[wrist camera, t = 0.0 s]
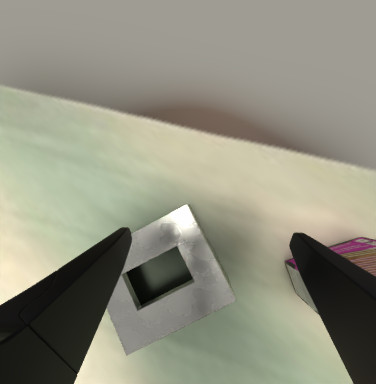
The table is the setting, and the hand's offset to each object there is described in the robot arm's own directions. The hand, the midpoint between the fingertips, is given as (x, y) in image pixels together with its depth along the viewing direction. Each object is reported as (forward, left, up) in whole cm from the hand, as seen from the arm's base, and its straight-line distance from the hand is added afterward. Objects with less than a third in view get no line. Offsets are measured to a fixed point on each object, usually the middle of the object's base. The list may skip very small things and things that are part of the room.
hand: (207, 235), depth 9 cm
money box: (-3, +8, -15) cm, 17 cm away
